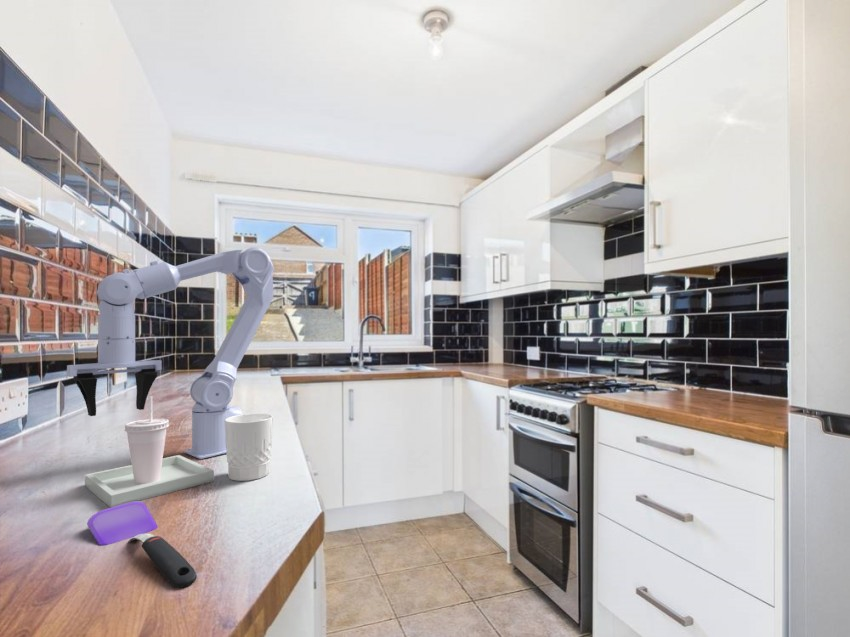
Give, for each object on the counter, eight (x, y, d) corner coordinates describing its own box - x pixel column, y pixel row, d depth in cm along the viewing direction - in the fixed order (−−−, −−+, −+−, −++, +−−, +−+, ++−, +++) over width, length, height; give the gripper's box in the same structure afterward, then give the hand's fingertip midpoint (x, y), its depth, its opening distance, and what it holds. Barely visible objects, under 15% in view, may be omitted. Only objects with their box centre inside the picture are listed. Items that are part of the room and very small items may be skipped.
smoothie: (153, 486, 72) (153, 399, 72) (114, 486, 72) (114, 399, 73) (177, 473, 78) (177, 393, 79) (141, 473, 79) (141, 393, 79)
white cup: (281, 474, 79) (281, 417, 79) (237, 486, 73) (236, 424, 73) (259, 465, 84) (259, 411, 84) (217, 475, 78) (217, 418, 79)
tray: (179, 464, 85) (179, 454, 85) (213, 481, 76) (213, 470, 76) (84, 485, 74) (84, 474, 74) (111, 508, 65) (111, 495, 65)
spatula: (221, 577, 47) (221, 553, 47) (148, 608, 42) (149, 581, 42) (142, 516, 63) (142, 498, 63) (82, 533, 58) (82, 514, 58)
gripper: (152, 337, 92) (152, 404, 92) (63, 339, 81) (62, 415, 81) (165, 338, 87) (165, 408, 87) (72, 340, 76) (72, 420, 76)
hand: (117, 412), depth 83 cm, fingers open, 7 cm apart
